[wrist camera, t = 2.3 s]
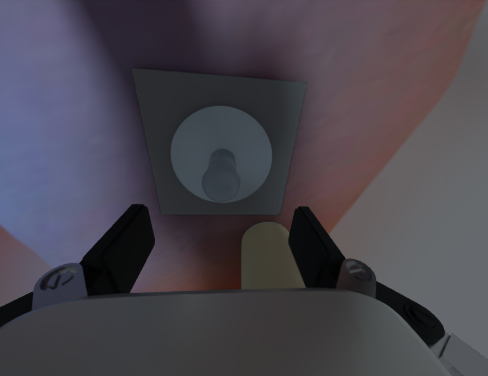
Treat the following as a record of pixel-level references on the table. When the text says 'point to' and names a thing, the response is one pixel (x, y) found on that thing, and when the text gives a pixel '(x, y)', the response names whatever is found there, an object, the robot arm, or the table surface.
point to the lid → (221, 154)
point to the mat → (206, 95)
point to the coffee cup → (268, 258)
